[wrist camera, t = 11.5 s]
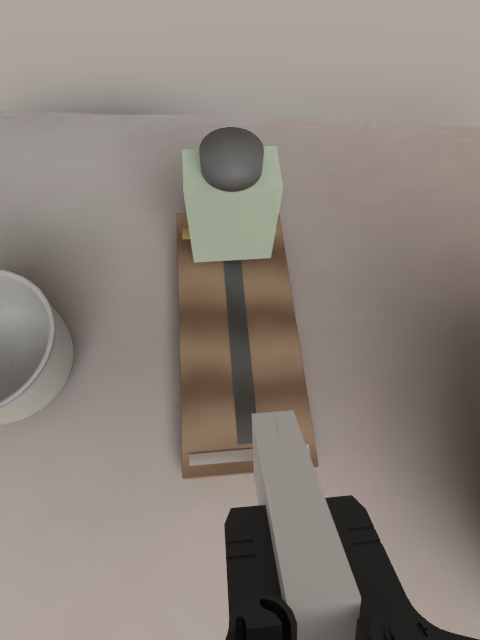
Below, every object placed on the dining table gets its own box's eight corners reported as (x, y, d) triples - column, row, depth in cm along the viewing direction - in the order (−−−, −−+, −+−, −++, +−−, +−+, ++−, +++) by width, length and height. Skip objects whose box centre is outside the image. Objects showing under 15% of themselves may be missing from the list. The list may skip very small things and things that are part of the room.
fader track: (313, 467, 31) (318, 465, 29) (185, 479, 30) (182, 478, 28) (276, 221, 40) (278, 207, 39) (178, 226, 40) (176, 212, 38)
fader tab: (271, 260, 36) (286, 172, 26) (194, 264, 35) (180, 177, 26) (265, 220, 37) (278, 125, 28) (192, 224, 37) (179, 129, 27)
